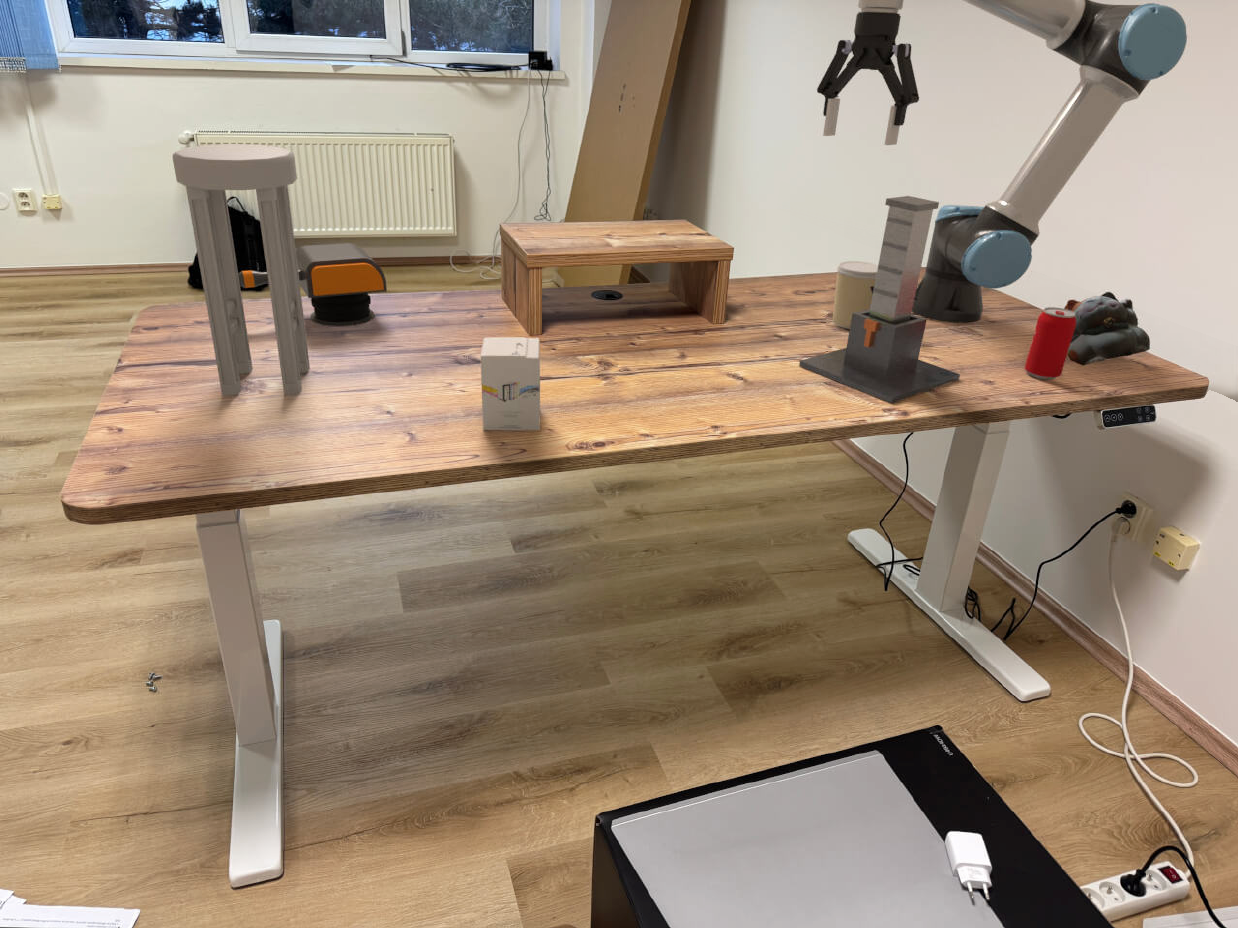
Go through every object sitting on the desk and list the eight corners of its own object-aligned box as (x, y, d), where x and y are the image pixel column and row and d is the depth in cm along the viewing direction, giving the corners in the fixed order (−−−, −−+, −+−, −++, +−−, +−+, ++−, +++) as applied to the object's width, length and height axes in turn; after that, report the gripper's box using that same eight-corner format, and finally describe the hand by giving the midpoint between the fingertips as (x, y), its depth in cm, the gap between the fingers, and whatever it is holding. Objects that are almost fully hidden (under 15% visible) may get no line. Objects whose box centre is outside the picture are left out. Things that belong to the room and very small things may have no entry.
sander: (241, 314, 167) (231, 248, 162) (372, 302, 178) (367, 240, 172) (251, 338, 156) (241, 268, 150) (390, 324, 167) (385, 258, 161)
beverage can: (1058, 372, 161) (1077, 309, 156) (1061, 383, 156) (1081, 319, 150) (1022, 366, 163) (1039, 304, 157) (1024, 377, 158) (1042, 313, 152)
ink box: (484, 407, 134) (482, 335, 129) (539, 407, 135) (540, 336, 130) (481, 431, 127) (479, 355, 121) (539, 431, 127) (540, 356, 122)
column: (884, 316, 156) (908, 196, 146) (912, 325, 152) (939, 202, 142) (863, 321, 152) (886, 198, 143) (892, 331, 148) (917, 205, 138)
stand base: (867, 346, 169) (877, 293, 164) (958, 379, 155) (972, 323, 150) (799, 365, 157) (807, 309, 152) (891, 403, 144) (903, 343, 139)
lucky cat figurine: (1069, 367, 164) (1059, 294, 164) (1056, 371, 175) (1048, 303, 175) (1159, 354, 159) (1149, 279, 159) (1140, 359, 171) (1131, 289, 171)
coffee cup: (875, 333, 176) (886, 274, 171) (828, 328, 178) (838, 270, 172) (872, 319, 185) (883, 263, 179) (828, 314, 186) (837, 259, 181)
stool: (324, 363, 147) (299, 145, 131) (311, 399, 134) (282, 161, 118) (227, 364, 144) (190, 142, 128) (204, 401, 131) (159, 158, 115)
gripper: (808, 8, 158) (793, 133, 167) (931, 12, 141) (906, 150, 151) (833, 10, 162) (817, 131, 172) (955, 14, 146) (929, 147, 155)
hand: (858, 140), depth 161 cm, fingers open, 13 cm apart
